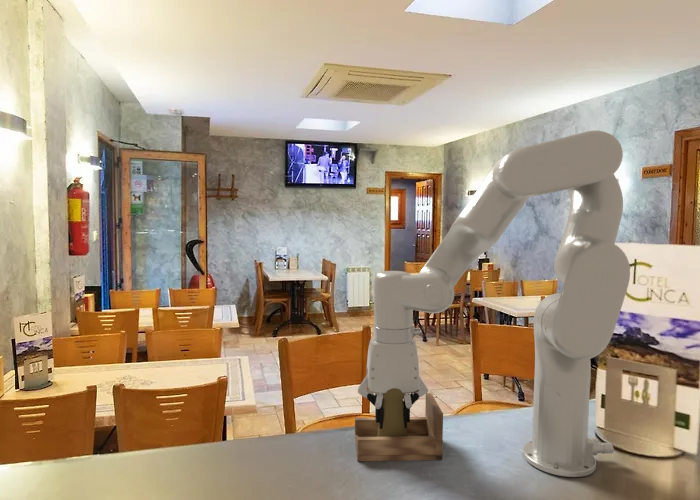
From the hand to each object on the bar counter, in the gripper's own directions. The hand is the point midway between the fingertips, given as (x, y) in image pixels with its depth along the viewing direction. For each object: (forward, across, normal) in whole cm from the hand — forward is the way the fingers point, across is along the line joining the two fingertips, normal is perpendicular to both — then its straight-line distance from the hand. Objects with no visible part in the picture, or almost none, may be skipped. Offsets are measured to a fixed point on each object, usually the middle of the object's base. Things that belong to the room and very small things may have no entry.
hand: (392, 424), depth 95 cm
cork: (+2, 0, 0) cm, 2 cm away
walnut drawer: (+5, -1, 0) cm, 5 cm away
